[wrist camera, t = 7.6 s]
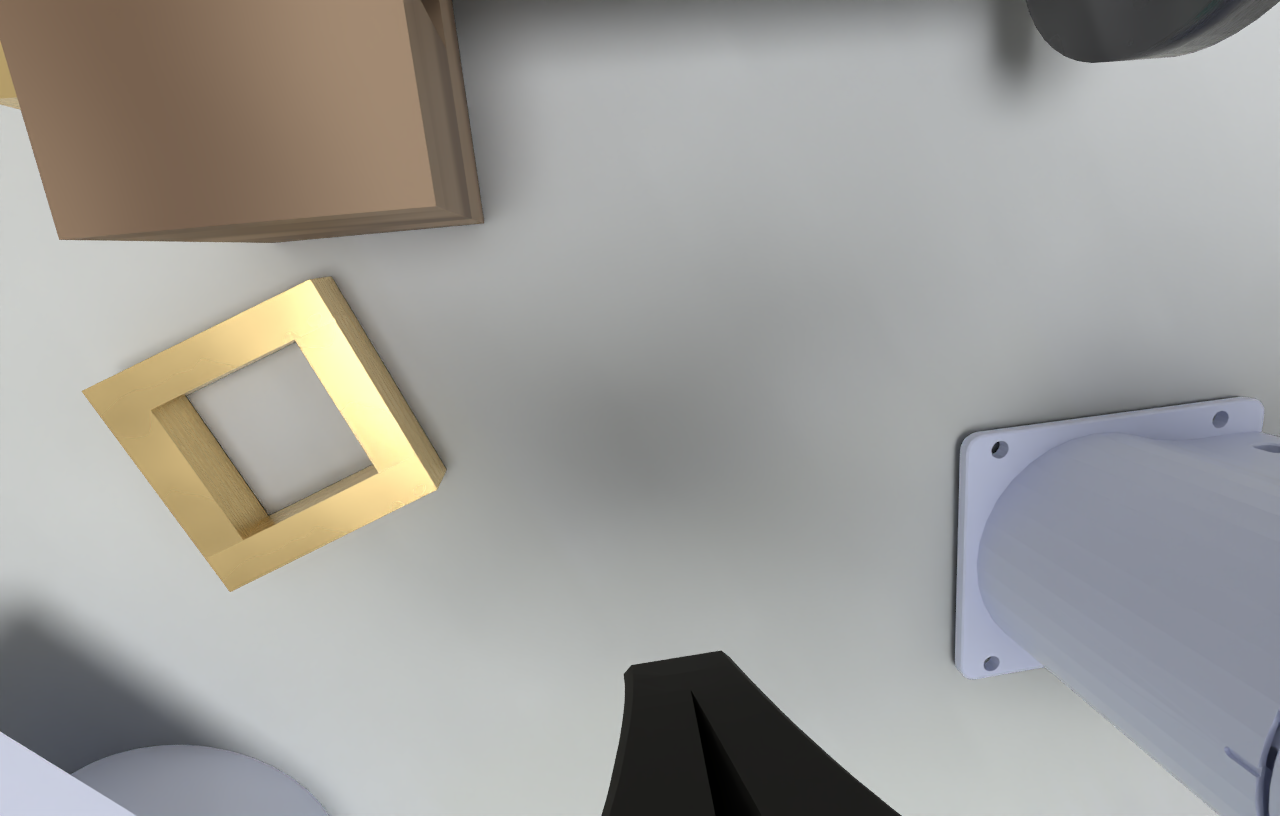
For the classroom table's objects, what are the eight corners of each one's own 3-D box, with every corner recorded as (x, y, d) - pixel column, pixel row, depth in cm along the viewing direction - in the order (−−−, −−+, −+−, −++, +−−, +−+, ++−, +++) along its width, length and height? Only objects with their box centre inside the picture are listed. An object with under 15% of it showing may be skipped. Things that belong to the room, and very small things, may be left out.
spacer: (331, 276, 16) (309, 279, 15) (446, 469, 18) (437, 489, 16) (123, 378, 16) (81, 391, 15) (256, 564, 18) (230, 591, 16)
